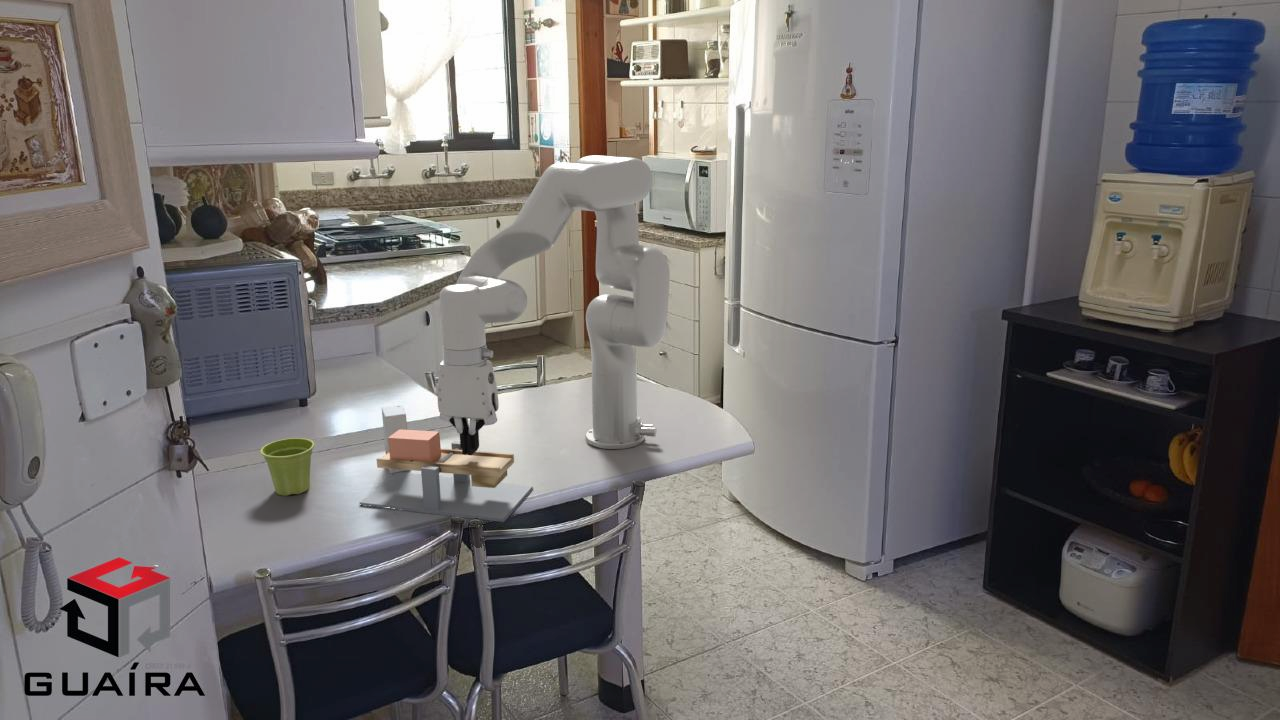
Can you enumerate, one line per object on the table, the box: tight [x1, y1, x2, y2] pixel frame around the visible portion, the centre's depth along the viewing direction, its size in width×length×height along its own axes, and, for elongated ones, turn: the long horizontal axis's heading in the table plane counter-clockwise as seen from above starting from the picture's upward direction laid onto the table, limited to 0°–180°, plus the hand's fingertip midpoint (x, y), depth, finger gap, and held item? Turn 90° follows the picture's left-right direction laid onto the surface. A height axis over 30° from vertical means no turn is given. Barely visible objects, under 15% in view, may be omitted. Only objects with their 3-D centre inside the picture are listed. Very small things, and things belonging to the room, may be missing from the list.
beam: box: [375, 448, 515, 488], centre depth 173 cm, size 24×10×4 cm, turn 76°
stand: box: [359, 440, 534, 523], centre depth 173 cm, size 28×14×8 cm, turn 76°
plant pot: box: [260, 437, 315, 497], centre depth 176 cm, size 9×9×9 cm
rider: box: [388, 429, 442, 462], centre depth 172 cm, size 8×4×4 cm, turn 77°
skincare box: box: [381, 404, 410, 474], centre depth 187 cm, size 6×4×12 cm
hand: (470, 452), depth 170 cm, fingers closed
